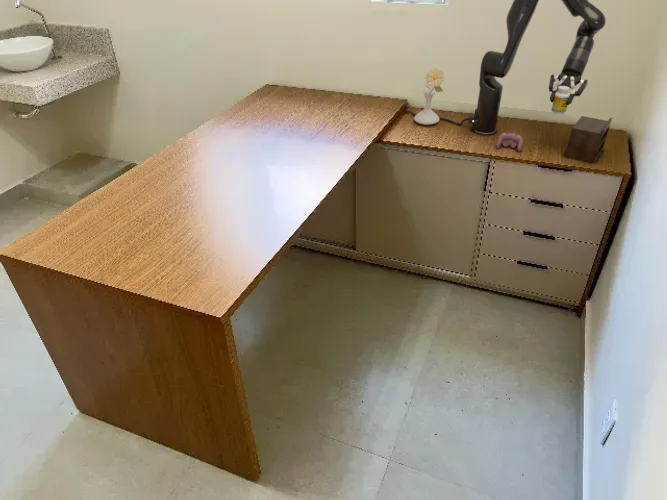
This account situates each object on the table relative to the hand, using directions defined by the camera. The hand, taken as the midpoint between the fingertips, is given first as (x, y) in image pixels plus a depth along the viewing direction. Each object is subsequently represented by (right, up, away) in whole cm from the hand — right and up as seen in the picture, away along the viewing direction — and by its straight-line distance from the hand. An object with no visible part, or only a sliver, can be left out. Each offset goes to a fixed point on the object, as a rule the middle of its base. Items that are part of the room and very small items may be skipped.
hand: (559, 102), depth 195 cm
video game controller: (-15, -15, +13) cm, 25 cm away
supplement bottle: (+1, -3, +4) cm, 5 cm away
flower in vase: (-44, +1, +36) cm, 57 cm away
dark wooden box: (+13, -18, +7) cm, 23 cm away
